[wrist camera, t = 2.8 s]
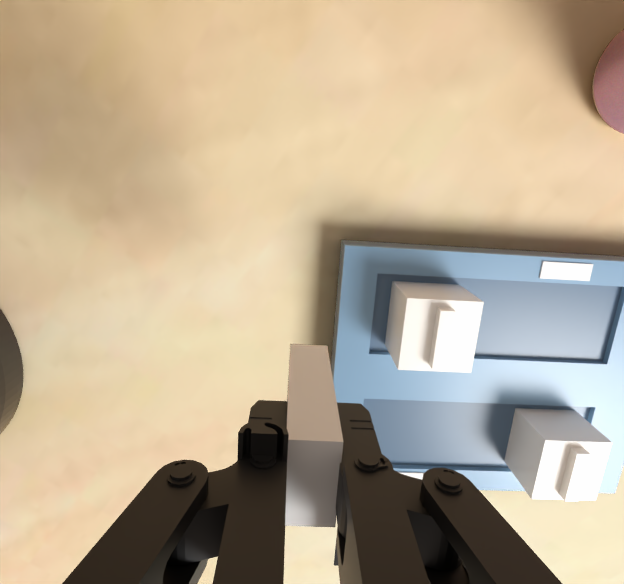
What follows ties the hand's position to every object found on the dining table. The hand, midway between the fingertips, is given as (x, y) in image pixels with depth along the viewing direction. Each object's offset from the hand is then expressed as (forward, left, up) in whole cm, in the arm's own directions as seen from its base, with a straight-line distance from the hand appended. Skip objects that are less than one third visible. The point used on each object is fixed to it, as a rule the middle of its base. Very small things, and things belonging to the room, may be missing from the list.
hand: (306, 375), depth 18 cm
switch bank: (+12, -4, -10) cm, 16 cm away
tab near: (+7, 0, -8) cm, 11 cm away
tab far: (+16, -8, -8) cm, 20 cm away
